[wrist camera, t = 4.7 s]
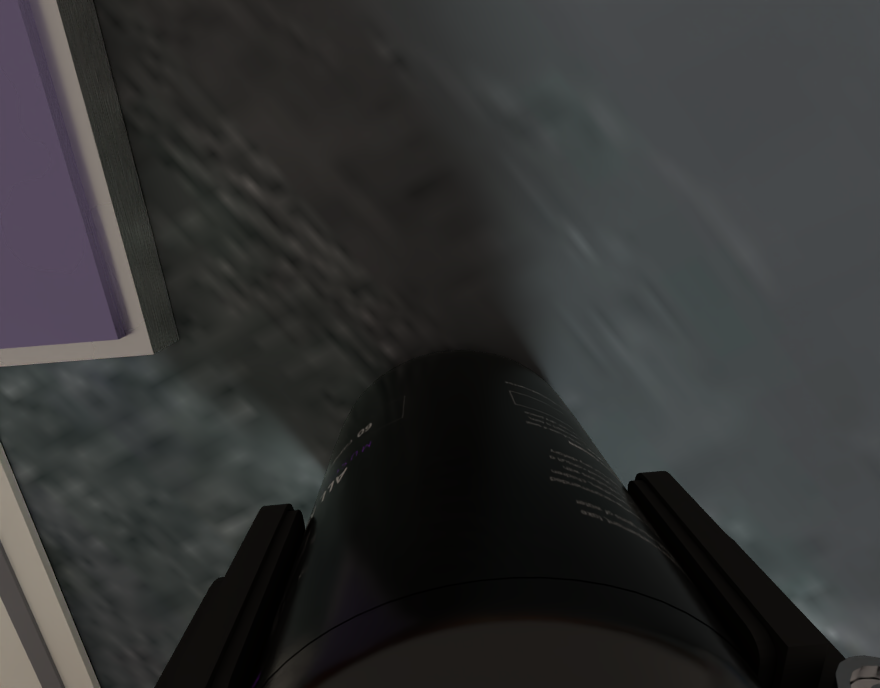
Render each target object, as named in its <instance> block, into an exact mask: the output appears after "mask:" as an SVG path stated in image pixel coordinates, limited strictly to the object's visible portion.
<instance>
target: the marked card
mask: <svg viewBox="0 0 880 688" xmlns="http://www.w3.org/2000/svg"><path fill="white" fill-rule="evenodd" d="M0 688H101V687H100V685H99V683H98V680H97V678H96V675H95V673H94V670H93V668H92V665H91V663H90V660H89V658H88V656H87V653H86V651H85V648H84V646H83V643H82V641H81V638H80V636H79V633H78V631H77V629H76V626H75V624H74V621H73V619H72V616H71V614H70V611H69V609H68V607H67V604H66V602H65V599H64V597H63V594H62V592H61V589H60V587H59V584H58V582H57V580H56V577H55V575H54V572H53V570H52V567H51V565H50V562H49V560H48V557H47V555H46V553H45V550H44V548H43V545H42V543H41V540H40V538H39V535H38V533H37V531H36V528H35V526H34V523H33V521H32V518H31V516H30V513H29V511H28V508H27V506H26V504H25V501H24V499H23V496H22V494H21V491H20V489H19V486H18V484H17V482H16V479H15V477H14V474H13V472H12V469H11V467H10V464H9V462H8V459H7V457H6V455H5V452H4V450H3V447H2V445H1V442H0Z"/></svg>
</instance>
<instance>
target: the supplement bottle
mask: <svg viewBox="0 0 880 688" xmlns="http://www.w3.org/2000/svg"><path fill="white" fill-rule="evenodd" d="M250 688H765V687H764V686H763V684H762V683H761V681H760V680H759V678H758V676H757V675H756V673H755V671H754V670H753V668H752V667H751V665H750V664H749V662H748V661H747V660H746V658H745V657H744V655H743V654H742V652H741V651H740V649H739V648H738V647H737V645H736V644H735V642H734V641H733V640H732V638H731V637H730V635H729V634H728V632H727V631H726V630H725V628H724V627H723V625H722V624H721V623H720V621H719V620H718V618H717V617H716V615H715V614H714V613H713V611H712V610H711V608H710V607H709V606H708V604H707V603H706V601H705V600H704V598H703V597H702V596H701V594H700V593H699V591H698V590H697V589H696V587H695V586H694V584H693V583H692V582H691V580H690V579H689V577H688V576H687V574H686V573H685V572H684V570H683V569H682V567H681V566H680V565H679V563H678V562H677V560H676V559H675V558H674V556H673V555H672V553H671V552H670V550H669V549H668V548H667V546H666V545H665V543H664V542H663V541H662V539H661V538H660V536H659V535H658V533H657V532H656V531H655V529H654V528H653V526H652V525H651V524H650V522H649V521H648V519H647V518H646V517H645V515H644V514H643V512H642V511H641V509H640V508H639V507H638V505H637V504H636V502H635V501H634V500H633V498H632V497H631V495H630V494H629V493H628V491H627V490H626V488H625V487H624V485H623V484H622V483H621V481H620V480H619V478H618V477H617V476H616V474H615V473H614V471H613V470H612V469H611V467H610V466H609V464H608V463H607V461H606V460H605V459H604V457H603V456H602V454H601V453H600V452H599V450H598V449H597V447H596V446H595V445H594V443H593V442H592V440H591V439H590V437H589V436H588V435H587V433H586V432H585V430H584V429H583V428H582V426H581V425H580V423H579V422H578V421H577V419H576V418H575V416H574V415H573V414H572V412H571V411H570V410H569V408H568V407H567V406H566V405H565V403H564V402H563V401H562V399H561V398H560V397H559V395H558V394H557V393H556V392H555V391H554V390H553V389H552V388H551V387H550V386H549V385H548V384H547V383H546V382H545V381H544V380H543V379H542V378H541V377H539V376H538V375H537V374H535V373H534V372H533V371H531V370H530V369H528V368H526V367H524V366H523V365H521V364H519V363H517V362H515V361H512V360H510V359H507V358H505V357H501V356H498V355H495V354H490V353H485V352H480V351H471V350H453V351H443V352H437V353H431V354H428V355H424V356H420V357H418V358H415V359H412V360H410V361H407V362H405V363H403V364H401V365H399V366H397V367H396V368H394V369H392V370H391V371H389V372H387V373H386V374H384V375H383V376H382V377H381V378H379V379H378V380H377V381H375V382H374V383H373V384H372V385H371V386H370V387H369V388H368V389H367V390H366V391H365V392H364V393H363V395H362V396H361V397H360V398H359V400H358V401H357V402H356V404H355V405H354V407H353V408H352V410H351V412H350V414H349V415H348V417H347V419H346V421H345V423H344V426H343V428H342V430H341V433H340V435H339V438H338V441H337V443H336V446H335V448H334V451H333V454H332V457H331V459H330V462H329V465H328V468H327V471H326V474H325V476H324V479H323V482H322V485H321V488H320V491H319V493H318V496H317V499H316V502H315V505H314V508H313V510H312V513H311V516H310V519H309V522H308V525H307V527H306V530H305V533H304V536H303V539H302V542H301V545H300V547H299V550H298V553H297V556H296V559H295V562H294V564H293V567H292V570H291V573H290V576H289V579H288V581H287V584H286V587H285V590H284V593H283V596H282V598H281V601H280V604H279V607H278V610H277V613H276V615H275V618H274V621H273V624H272V627H271V630H270V633H269V635H268V638H267V641H266V644H265V647H264V650H263V652H262V655H261V658H260V661H259V664H258V667H257V669H256V672H255V675H254V678H253V681H252V684H251V687H250Z"/></svg>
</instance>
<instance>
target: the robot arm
mask: <svg viewBox="0 0 880 688" xmlns="http://www.w3.org/2000/svg"><path fill="white" fill-rule="evenodd" d="M628 493H629V494H630V495H631V497H632V498H633V500H634V501H635V502H636V504H637V505H638V507H639V508H640V509H641V511H642V512H643V514H644V515H645V517H646V518H647V519H648V521H649V522H650V524H651V525H652V526H653V528H654V529H655V531H656V532H657V533H658V535H659V536H660V538H661V539H662V541H663V542H664V543H665V545H666V546H667V548H668V549H669V550H670V552H671V553H672V555H673V556H674V558H675V559H676V560H677V562H678V563H679V565H680V566H681V567H682V569H683V570H684V572H685V573H686V574H687V576H688V577H689V579H690V580H691V582H692V583H693V584H694V586H695V587H696V589H697V590H698V591H699V593H700V594H701V596H702V597H703V598H704V600H705V601H706V603H707V604H708V606H709V607H710V608H711V610H712V611H713V613H714V614H715V615H716V617H717V618H718V620H719V621H720V623H721V624H722V625H723V627H724V628H725V630H726V631H727V632H728V634H729V635H730V637H731V638H732V640H733V641H734V642H735V644H736V645H737V647H738V648H739V649H740V651H741V652H742V654H743V655H744V657H745V658H746V660H747V661H748V662H749V664H750V665H751V667H752V668H753V670H754V671H755V673H756V675H757V676H758V678H759V680H760V681H761V683H762V684H763V686H764V687H765V688H880V658H877V657H871V656H864V655H863V656H854V657H848V658H847V659H845V658H844V656H843V655H842V654H841V653H840V652H839V651H838V650H837V649H836V648H835V647H834V646H833V645H832V644H831V643H830V642H829V641H828V640H827V638H826V637H825V636H824V635H823V634H822V633H821V632H820V631H819V630H818V629H817V628H816V627H815V626H814V625H813V624H812V623H811V622H810V620H809V619H808V618H807V617H806V616H805V615H804V614H803V613H802V612H801V611H800V610H799V609H798V608H797V607H796V606H795V605H794V604H793V603H792V601H791V600H790V599H789V598H788V597H787V596H786V595H785V594H784V593H783V592H782V591H781V590H780V589H779V588H778V587H777V586H776V585H775V583H774V582H773V581H772V580H771V579H770V578H769V577H768V576H767V575H766V574H765V573H764V572H763V571H762V570H761V569H760V568H759V567H758V565H757V564H756V563H755V562H754V561H753V560H752V559H751V558H750V557H749V556H748V555H747V554H746V553H745V552H744V551H743V550H742V549H741V547H740V546H739V545H738V544H737V543H736V542H735V541H734V540H733V539H732V538H730V537H729V536H728V535H727V534H726V533H725V532H724V531H723V530H722V529H721V528H720V527H719V526H718V525H717V524H716V523H715V522H714V521H713V519H712V518H711V517H710V516H709V515H708V514H707V513H706V512H705V511H704V510H703V509H702V508H701V507H700V506H699V505H698V504H697V502H696V501H695V500H694V499H693V498H692V497H691V496H690V495H689V494H688V493H687V492H686V491H685V490H684V489H683V488H682V486H681V485H680V484H679V483H678V482H677V481H676V480H675V479H674V478H673V477H672V476H671V475H670V474H669V473H668V472H666V471H657V472H646V473H639V474H637V475H636V477H635V481H630V482H629V484H628ZM304 533H305V525H304V520H303V515H302V512H301V511H300V510H294V509H293V507H292V505H291V504H281V505H270V506H263V507H262V508H261V509H260V511H259V512H258V514H257V516H256V518H255V520H254V522H253V524H252V526H251V528H250V529H249V531H248V533H247V535H246V537H245V539H244V541H243V543H242V545H241V547H240V548H239V550H238V552H237V554H236V556H235V558H234V560H233V562H232V564H231V565H230V567H229V569H228V571H227V573H226V575H225V577H221V578H218V579H217V580H215V581H214V582H213V584H212V585H211V586H210V588H209V590H208V591H207V593H206V595H205V597H204V599H203V600H202V602H201V604H200V606H199V608H198V610H197V611H196V613H195V615H194V617H193V619H192V620H191V622H190V624H189V626H188V628H187V629H186V631H185V633H184V635H183V637H182V639H181V640H180V642H179V644H178V646H177V648H176V649H175V651H174V653H173V655H172V657H171V658H170V660H169V662H168V664H167V666H166V667H165V669H164V671H163V673H162V675H161V677H160V678H159V680H158V682H157V684H156V686H155V687H154V688H250V687H251V684H252V681H253V678H254V675H255V672H256V669H257V667H258V664H259V661H260V658H261V655H262V652H263V650H264V647H265V644H266V641H267V638H268V635H269V633H270V630H271V627H272V624H273V621H274V618H275V615H276V613H277V610H278V607H279V604H280V601H281V598H282V596H283V593H284V590H285V587H286V584H287V581H288V579H289V576H290V573H291V570H292V567H293V564H294V562H295V559H296V556H297V553H298V550H299V547H300V545H301V542H302V539H303V536H304Z"/></svg>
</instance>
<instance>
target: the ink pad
mask: <svg viewBox="0 0 880 688" xmlns="http://www.w3.org/2000/svg"><path fill="white" fill-rule="evenodd" d="M177 341H179V336H178V332H177V328H176V324H175V320H174V316H173V312H172V308H171V305H170V301H169V297H168V293H167V289H166V285H165V281H164V277H163V273H162V269H161V265H160V261H159V257H158V253H157V250H156V246H155V242H154V238H153V234H152V230H151V226H150V222H149V218H148V214H147V210H146V206H145V202H144V198H143V195H142V191H141V187H140V183H139V179H138V175H137V171H136V167H135V163H134V159H133V155H132V151H131V147H130V143H129V140H128V136H127V132H126V128H125V124H124V120H123V116H122V112H121V108H120V104H119V100H118V96H117V92H116V88H115V85H114V81H113V77H112V73H111V69H110V65H109V61H108V57H107V53H106V49H105V45H104V41H103V37H102V33H101V30H100V26H99V22H98V18H97V14H96V10H95V6H94V2H93V0H0V367H3V366H16V365H28V364H41V363H53V362H66V361H78V360H91V359H103V358H115V357H128V356H140V355H153V354H155V353H157V352H159V351H161V350H162V349H164V348H166V347H168V346H170V345H171V344H173V343H175V342H177Z"/></svg>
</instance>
